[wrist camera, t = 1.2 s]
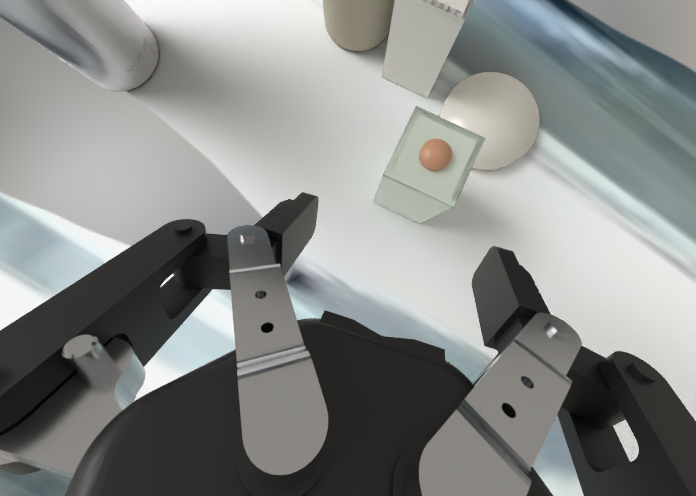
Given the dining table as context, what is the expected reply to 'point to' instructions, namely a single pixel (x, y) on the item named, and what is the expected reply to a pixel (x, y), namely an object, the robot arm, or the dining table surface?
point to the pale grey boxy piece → (428, 167)
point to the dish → (494, 116)
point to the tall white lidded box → (422, 41)
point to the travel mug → (358, 22)
